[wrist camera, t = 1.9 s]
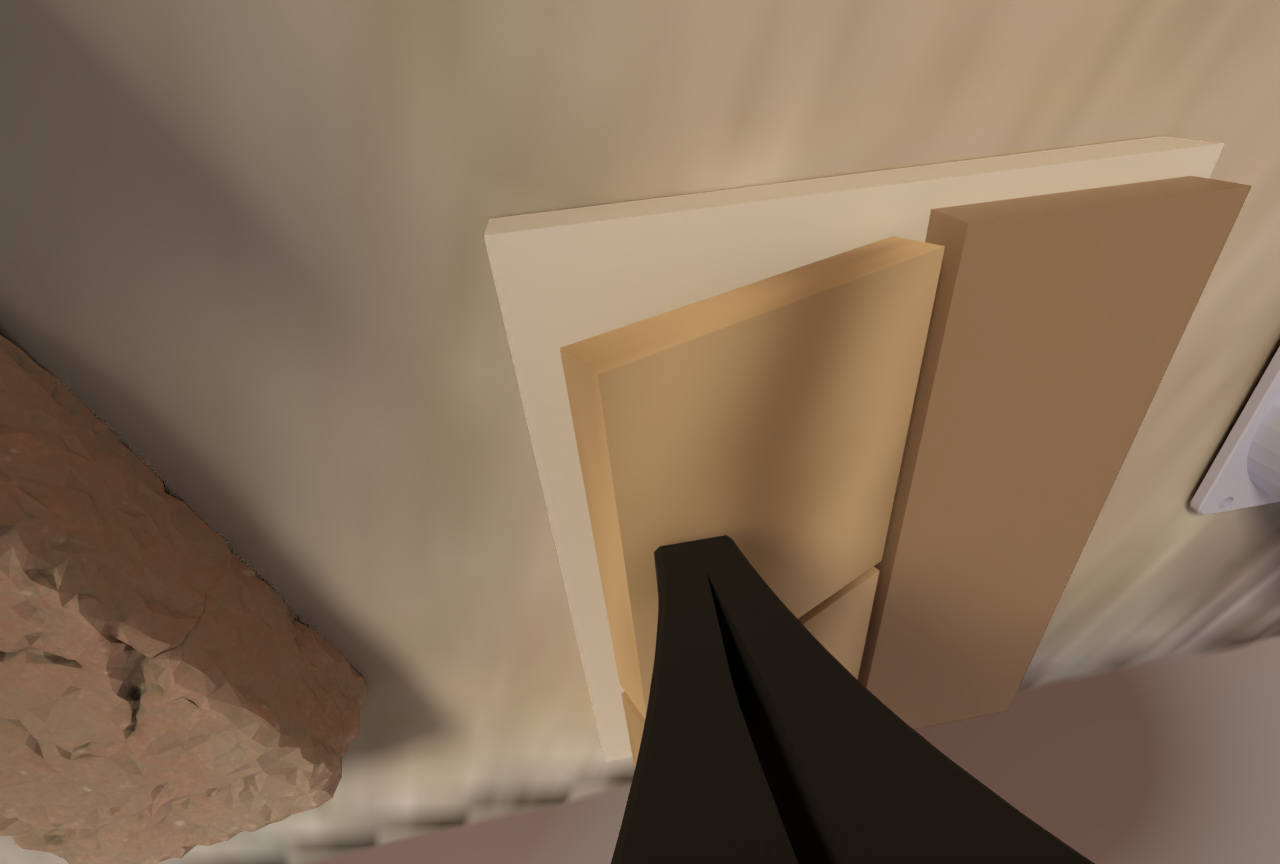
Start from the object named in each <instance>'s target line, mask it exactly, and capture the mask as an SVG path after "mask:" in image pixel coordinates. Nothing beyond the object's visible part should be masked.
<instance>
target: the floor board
mask: <svg viewBox="0 0 1280 864" xmlns="http://www.w3.org/2000/svg"><path fill="white" fill-rule="evenodd" d="M1223 146H1224V143H1217V142H1209V141H1200V140H1191V139H1182V138H1173V137H1164V136H1160V137H1152V138H1144V139H1136V140H1128V141H1120V142H1111V143H1103V144H1095V145H1087V146H1079V147H1071V148H1062V149H1054V150H1046V151H1038V152H1030V153H1022V154H1013V155H1005V156H997V157H989V158H981V159H973V160H964V161H956V162H948V163H940V164H932V165H924V166H915V167H907V168H899V169H891V170H883V171H875V172H866V173H858V174H850V175H842V176H834V177H826V178H817V179H809V180H801V181H793V182H785V183H777V184H769V185H760V186H752V187H744V188H736V189H728V190H720V191H711V192H703V193H695V194H687V195H679V196H671V197H662V198H654V199H646V200H638V201H630V202H622V203H613V204H605V205H597V206H589V207H581V208H573V209H564V210H556V211H548V212H540V213H532V214H524V215H515V216H507V217H499V218H491V219H489V222H488V225H487V227H486V230H485V233H484V239H485V243H486V248H487V252H488V256H489V261H490V265H491V269H492V274H493V278H494V282H495V287H496V291H497V295H498V300H499V304H500V308H501V313H502V317H503V321H504V326H505V330H506V334H507V339H508V343H509V347H510V352H511V356H512V360H513V365H514V369H515V373H516V378H517V382H518V386H519V391H520V395H521V399H522V404H523V408H524V412H525V417H526V421H527V425H528V430H529V434H530V438H531V443H532V447H533V451H534V456H535V460H536V464H537V469H538V473H539V477H540V482H541V486H542V490H543V495H544V499H545V503H546V508H547V512H548V516H549V521H550V525H551V529H552V534H553V538H554V542H555V547H556V551H557V555H558V560H559V564H560V568H561V573H562V577H563V581H564V586H565V590H566V594H567V599H568V603H569V607H570V612H571V616H572V620H573V625H574V629H575V633H576V638H577V642H578V646H579V651H580V655H581V659H582V664H583V668H584V672H585V677H586V681H587V685H588V690H589V694H590V698H591V703H592V707H593V711H594V716H595V720H596V724H597V729H598V733H599V737H600V742H601V746H602V750H603V755H604V759H605V762H610V761H616V760H621V759H626V758H631V757H633V756H632V750H631V745H630V739H629V734H628V728H627V722H626V717H625V711H624V706H623V700H622V694H621V693H623V692H624V689H623V688H622V686H621V685H620V683H619V678H618V672H617V666H616V661H615V655H614V650H613V644H612V638H611V633H610V627H609V622H608V616H607V610H606V605H605V599H604V594H603V588H602V582H601V577H600V571H599V566H598V560H597V554H596V549H595V543H594V538H593V532H592V526H591V521H590V515H589V510H588V504H587V498H586V493H585V487H584V482H583V476H582V470H581V465H580V459H579V454H578V448H577V442H576V437H575V431H574V426H573V420H572V414H571V409H570V403H569V398H568V392H567V386H566V381H565V375H564V370H563V364H562V358H561V353H560V348H561V347H564V346H567V345H570V344H573V343H576V342H579V341H582V340H585V339H587V338H590V337H593V336H596V335H599V334H602V333H605V332H608V331H611V330H614V329H617V328H620V327H623V326H626V325H629V324H632V323H635V322H638V321H641V320H644V319H647V318H650V317H653V316H656V315H659V314H662V313H665V312H668V311H671V310H674V309H677V308H680V307H683V306H686V305H689V304H692V303H695V302H698V301H701V300H704V299H707V298H710V297H713V296H716V295H719V294H721V293H724V292H727V291H730V290H733V289H736V288H739V287H742V286H745V285H748V284H751V283H754V282H757V281H760V280H763V279H766V278H769V277H772V276H775V275H778V274H781V273H784V272H787V271H790V270H793V269H796V268H799V267H802V266H805V265H808V264H811V263H814V262H817V261H820V260H823V259H826V258H829V257H832V256H835V255H838V254H841V253H844V252H847V251H850V250H853V249H855V248H858V247H861V246H864V245H867V244H870V243H873V242H876V241H879V240H882V239H885V238H888V237H891V236H896V237H901V238H906V239H911V240H916V241H921V242H926V243H931V244H936V245H941V246H945V249H944V254H943V259H942V264H941V269H940V274H939V279H938V284H937V289H936V294H935V299H934V304H933V309H932V314H931V319H930V324H929V328H928V333H927V338H926V343H925V348H924V353H923V358H922V363H921V368H920V373H919V378H918V383H917V388H916V393H915V398H914V403H913V408H912V413H911V418H910V423H909V428H908V433H907V437H906V442H905V447H904V452H903V457H902V462H901V467H900V472H899V477H898V482H897V487H896V492H895V497H894V502H893V507H892V512H891V517H890V522H889V527H888V532H887V537H886V542H885V546H884V551H883V556H882V561H880V562H879V563H878V564H876V565H875V566H874V567H875V568H877V569H878V570H879V576H878V581H877V586H876V591H875V596H874V601H873V606H872V611H871V616H870V621H869V626H868V631H867V636H866V641H865V646H864V651H863V655H862V660H861V665H860V670H859V675H858V681H859V682H860V683H861V684H862V685H864V686H865V687H866V688H867V689H868V690H869V691H870V692H871V693H872V694H873V695H874V696H876V697H877V698H878V699H879V700H880V701H881V702H882V703H883V704H885V705H886V706H887V707H888V708H889V709H890V710H891V711H893V712H894V713H895V714H896V715H897V716H898V717H899V718H901V719H902V720H903V721H904V722H905V723H906V724H908V725H909V726H910V727H911V728H912V729H918V728H924V727H929V726H934V725H939V724H944V723H949V722H953V721H959V720H964V719H969V718H974V717H979V716H984V715H989V714H994V713H999V712H1004V711H1008V710H1009V707H1010V705H1011V703H1012V701H1013V699H1014V697H1015V695H1016V692H1017V690H1018V688H1019V686H1020V684H1021V682H1022V679H1023V677H1024V675H1025V673H1026V671H1027V669H1028V667H1029V664H1030V662H1031V660H1032V658H1033V656H1034V654H1035V651H1036V649H1037V647H1038V645H1039V643H1040V641H1041V639H1042V636H1043V634H1044V632H1045V630H1046V628H1047V626H1048V624H1049V621H1050V619H1051V617H1052V615H1053V613H1054V611H1055V608H1056V606H1057V604H1058V602H1059V600H1060V598H1061V596H1062V593H1063V591H1064V589H1065V587H1066V585H1067V583H1068V580H1069V578H1070V576H1071V574H1072V572H1073V570H1074V568H1075V565H1076V563H1077V561H1078V559H1079V557H1080V555H1081V552H1082V550H1083V548H1084V546H1085V544H1086V542H1087V540H1088V537H1089V535H1090V533H1091V531H1092V529H1093V527H1094V524H1095V522H1096V520H1097V518H1098V516H1099V514H1100V512H1101V509H1102V507H1103V505H1104V503H1105V501H1106V499H1107V496H1108V494H1109V492H1110V490H1111V488H1112V486H1113V484H1114V481H1115V479H1116V477H1117V475H1118V473H1119V471H1120V468H1121V466H1122V464H1123V462H1124V460H1125V458H1126V456H1127V453H1128V451H1129V449H1130V447H1131V445H1132V443H1133V440H1134V438H1135V436H1136V434H1137V432H1138V430H1139V428H1140V425H1141V423H1142V421H1143V419H1144V417H1145V415H1146V413H1147V410H1148V408H1149V406H1150V404H1151V402H1152V400H1153V397H1154V395H1155V393H1156V391H1157V389H1158V387H1159V385H1160V382H1161V380H1162V378H1163V376H1164V374H1165V372H1166V369H1167V367H1168V365H1169V363H1170V361H1171V359H1172V357H1173V354H1174V352H1175V350H1176V348H1177V346H1178V344H1179V341H1180V339H1181V337H1182V335H1183V333H1184V331H1185V329H1186V326H1187V324H1188V322H1189V320H1190V318H1191V316H1192V313H1193V311H1194V309H1195V307H1196V305H1197V303H1198V301H1199V298H1200V296H1201V294H1202V292H1203V290H1204V288H1205V285H1206V283H1207V281H1208V279H1209V277H1210V275H1211V273H1212V270H1213V268H1214V266H1215V264H1216V262H1217V260H1218V257H1219V255H1220V253H1221V251H1222V249H1223V247H1224V245H1225V242H1226V240H1227V238H1228V236H1229V234H1230V232H1231V229H1232V227H1233V225H1234V223H1235V221H1236V219H1237V217H1238V214H1239V212H1240V210H1241V208H1242V206H1243V204H1244V202H1245V199H1246V197H1247V195H1248V193H1249V191H1250V189H1251V186H1249V185H1243V184H1237V183H1232V182H1226V181H1220V180H1214V179H1210V176H1211V174H1212V172H1213V169H1214V167H1215V164H1216V162H1217V160H1218V157H1219V155H1220V153H1221V150H1222V148H1223Z"/></svg>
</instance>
